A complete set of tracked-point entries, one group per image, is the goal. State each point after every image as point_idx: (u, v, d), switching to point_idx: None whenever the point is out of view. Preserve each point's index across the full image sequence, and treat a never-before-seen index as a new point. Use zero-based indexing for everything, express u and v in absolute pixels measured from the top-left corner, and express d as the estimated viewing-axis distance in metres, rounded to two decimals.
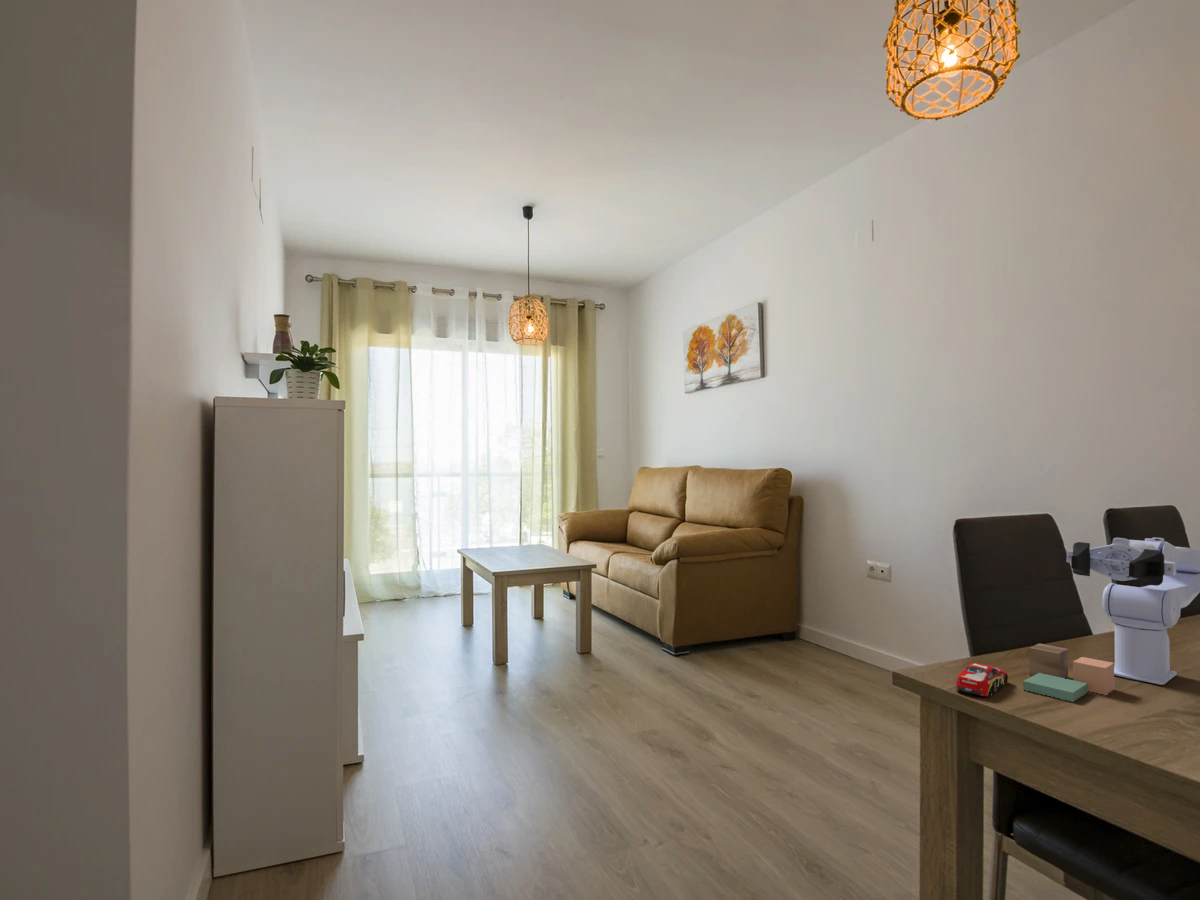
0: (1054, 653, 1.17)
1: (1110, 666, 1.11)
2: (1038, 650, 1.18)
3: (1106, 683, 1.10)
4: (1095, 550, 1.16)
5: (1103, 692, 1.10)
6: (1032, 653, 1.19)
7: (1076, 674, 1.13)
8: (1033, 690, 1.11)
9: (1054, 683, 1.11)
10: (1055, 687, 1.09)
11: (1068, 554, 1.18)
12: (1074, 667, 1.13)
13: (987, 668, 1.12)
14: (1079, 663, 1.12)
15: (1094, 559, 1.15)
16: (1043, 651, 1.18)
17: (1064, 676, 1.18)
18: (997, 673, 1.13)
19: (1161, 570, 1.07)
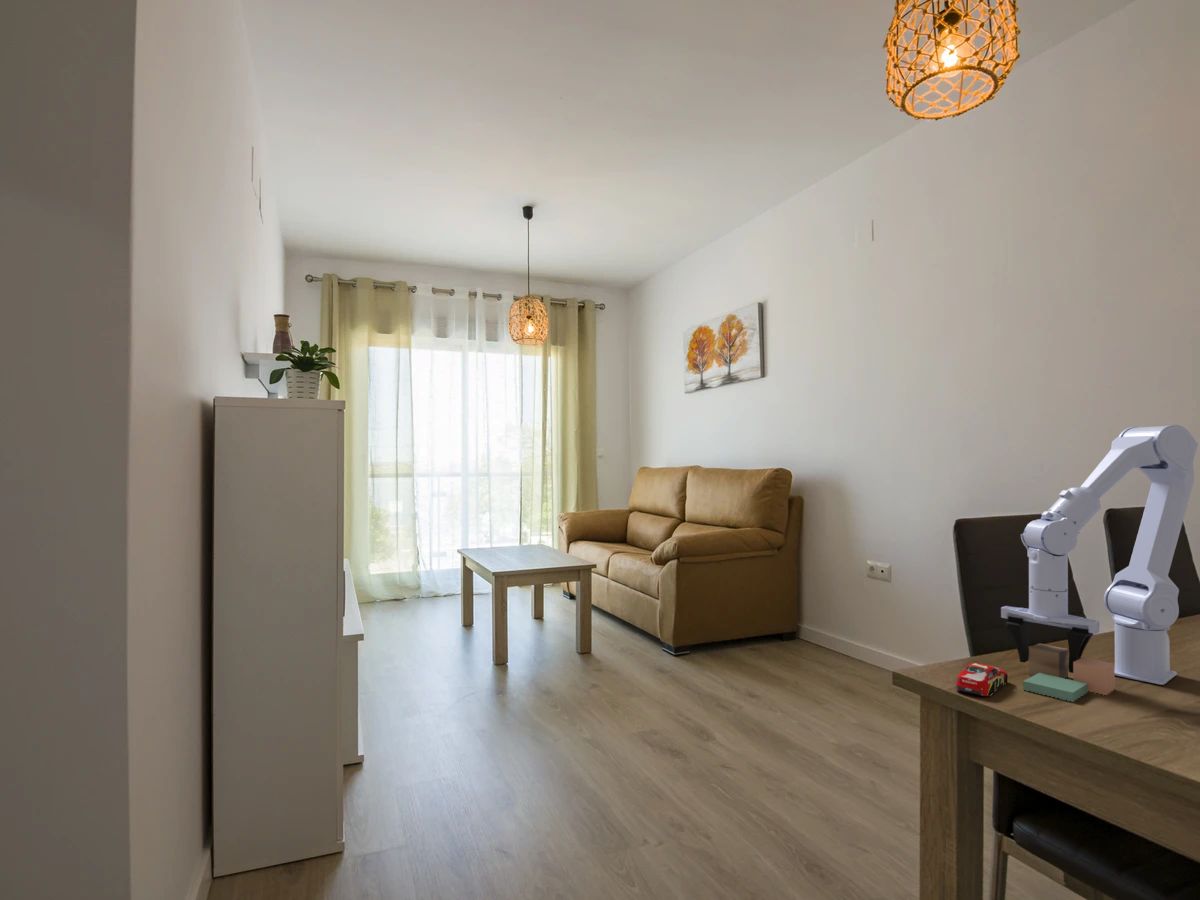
0: (1054, 653, 1.17)
1: (1110, 667, 1.11)
2: (1038, 650, 1.18)
3: (1106, 684, 1.10)
4: None
5: (1103, 693, 1.10)
6: (1032, 653, 1.19)
7: (1076, 674, 1.13)
8: (1033, 690, 1.11)
9: (1054, 683, 1.11)
10: (1055, 687, 1.09)
11: None
12: (1074, 667, 1.13)
13: (987, 668, 1.12)
14: (1079, 663, 1.12)
15: (1027, 621, 1.22)
16: (1043, 651, 1.18)
17: (1064, 676, 1.18)
18: (997, 672, 1.13)
19: (1088, 635, 1.15)
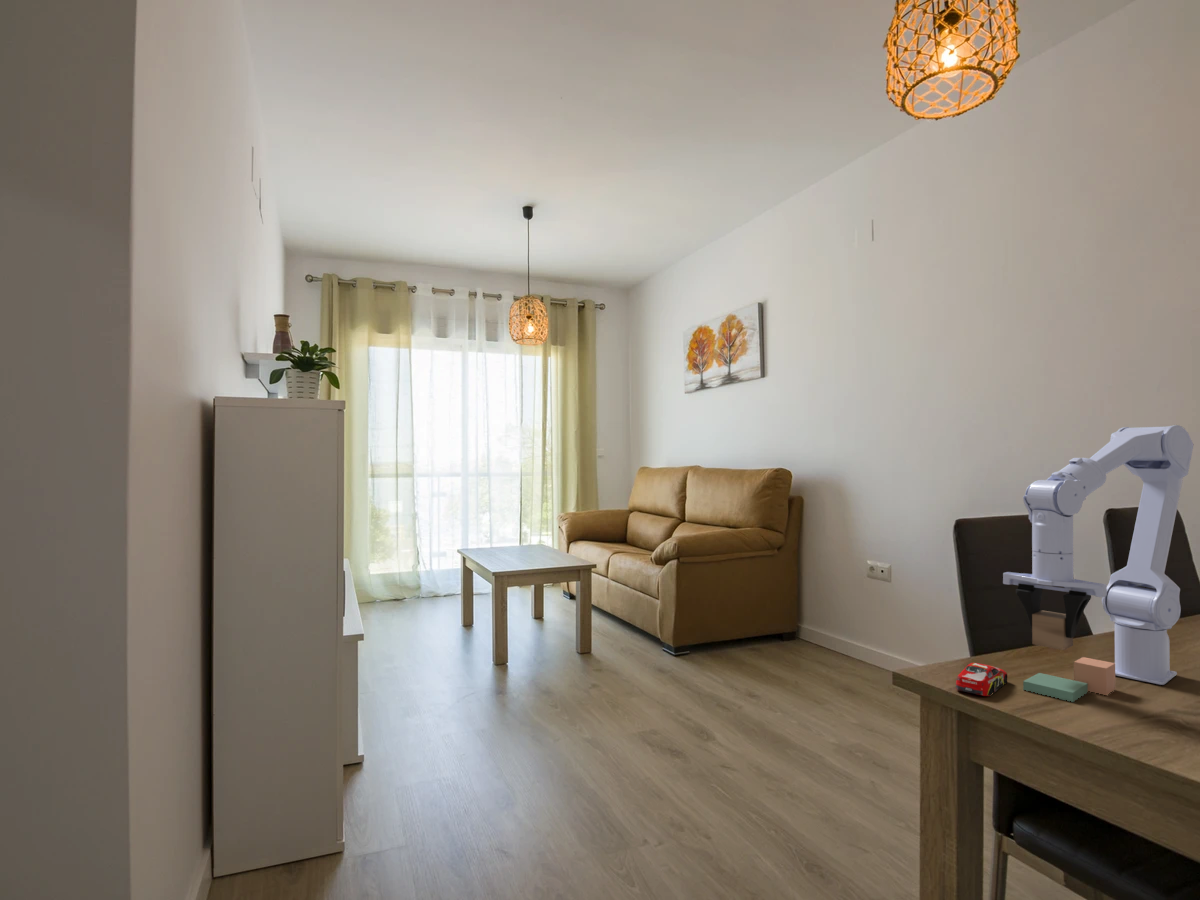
0: (1058, 619, 1.11)
1: (1111, 666, 1.11)
2: (1041, 616, 1.13)
3: (1107, 683, 1.10)
4: (1026, 581, 1.15)
5: (1103, 692, 1.10)
6: (1035, 620, 1.13)
7: (1077, 674, 1.13)
8: (1033, 690, 1.11)
9: (1054, 683, 1.11)
10: (1055, 687, 1.09)
11: (1006, 583, 1.19)
12: (1075, 667, 1.13)
13: (987, 668, 1.12)
14: (1080, 663, 1.12)
15: None
16: (1047, 617, 1.12)
17: (1069, 643, 1.12)
18: (997, 672, 1.13)
19: (1086, 599, 1.10)
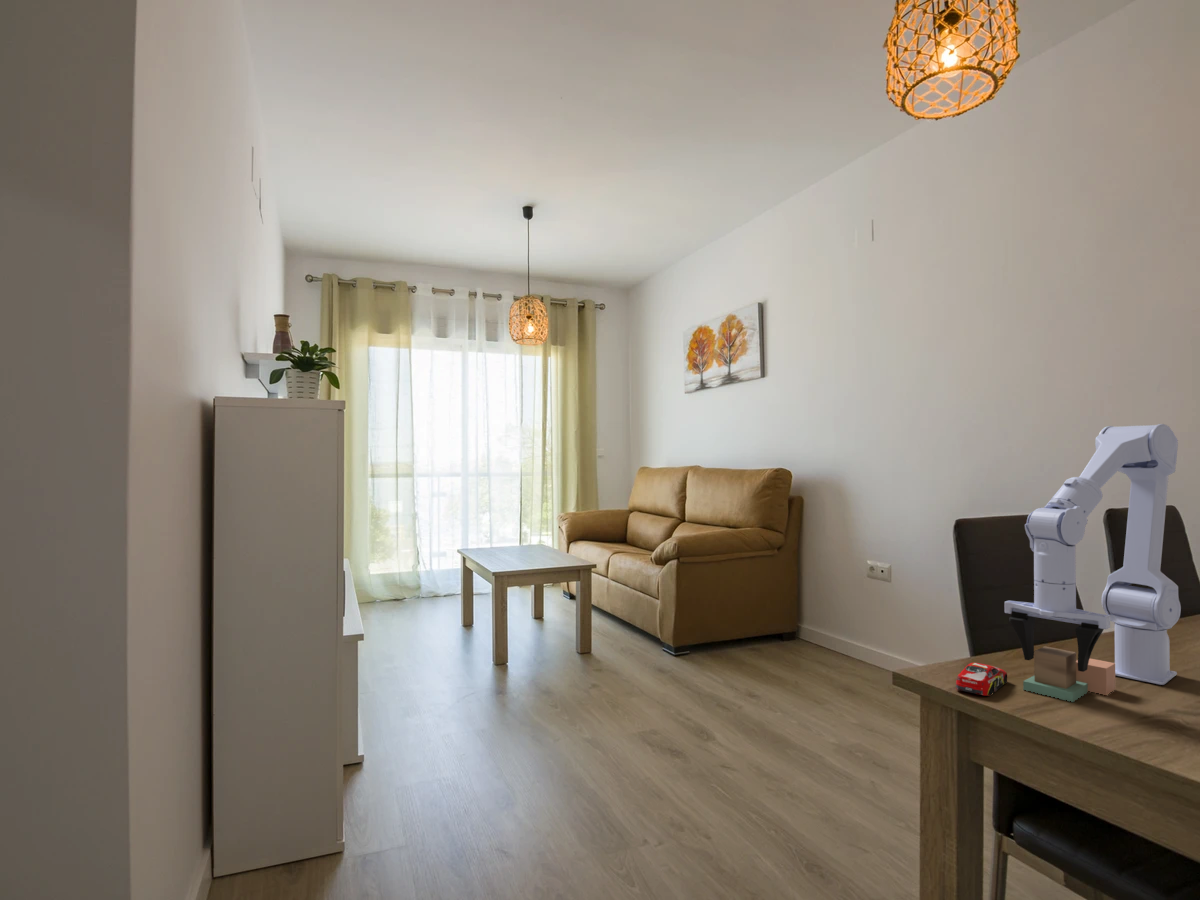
0: (1061, 657, 1.09)
1: (1111, 666, 1.11)
2: (1044, 653, 1.11)
3: (1107, 683, 1.10)
4: None
5: (1103, 692, 1.10)
6: (1037, 657, 1.11)
7: (1077, 674, 1.13)
8: (1033, 690, 1.11)
9: None
10: (1055, 687, 1.09)
11: (1007, 612, 1.17)
12: None
13: (987, 668, 1.12)
14: None
15: (1033, 616, 1.14)
16: (1049, 655, 1.10)
17: (1072, 681, 1.10)
18: (997, 672, 1.13)
19: (1099, 631, 1.07)
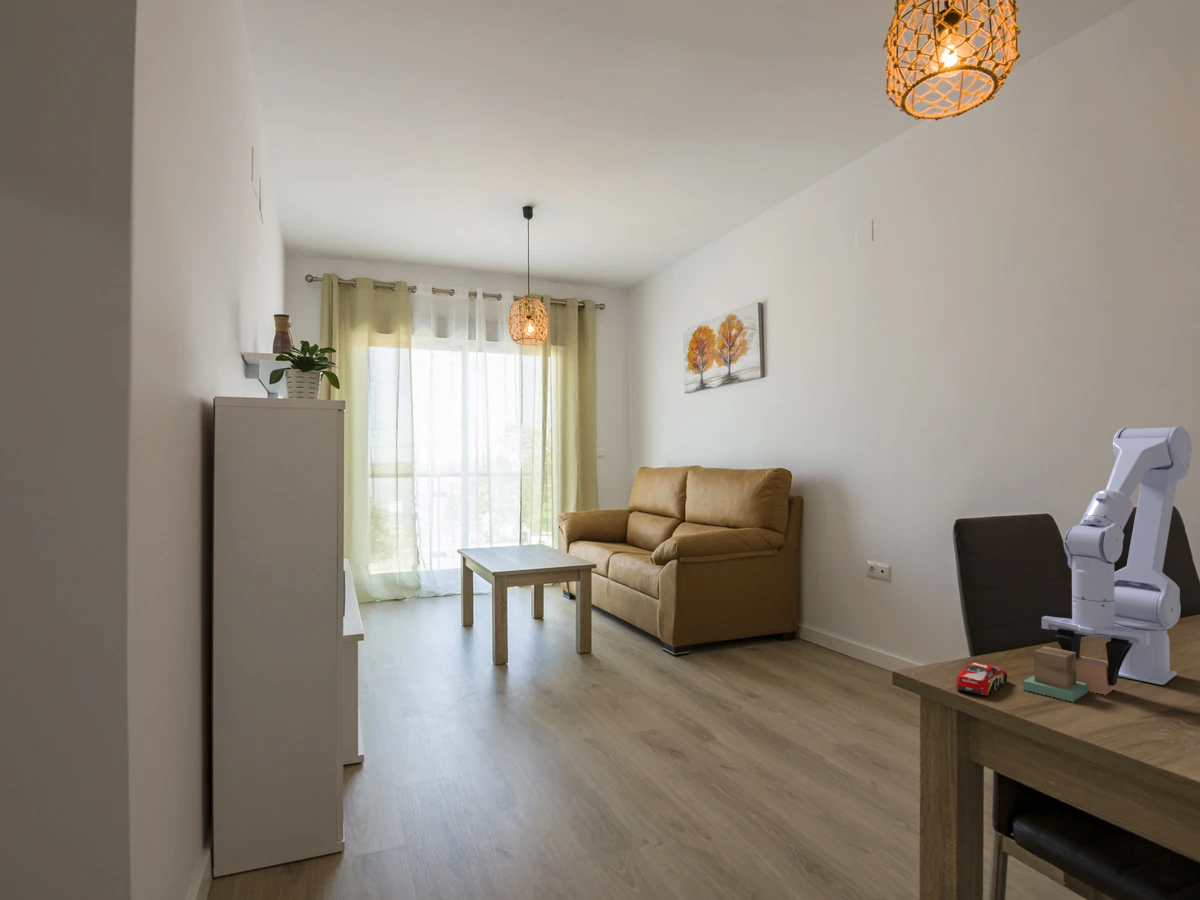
0: (1061, 657, 1.09)
1: None
2: (1044, 653, 1.11)
3: (1106, 682, 1.10)
4: None
5: (1102, 691, 1.10)
6: (1037, 657, 1.11)
7: (1076, 673, 1.13)
8: (1033, 690, 1.11)
9: None
10: (1055, 687, 1.09)
11: None
12: None
13: (987, 667, 1.12)
14: (1079, 662, 1.12)
15: None
16: (1049, 655, 1.10)
17: (1072, 681, 1.10)
18: (996, 672, 1.13)
19: (1128, 646, 1.09)
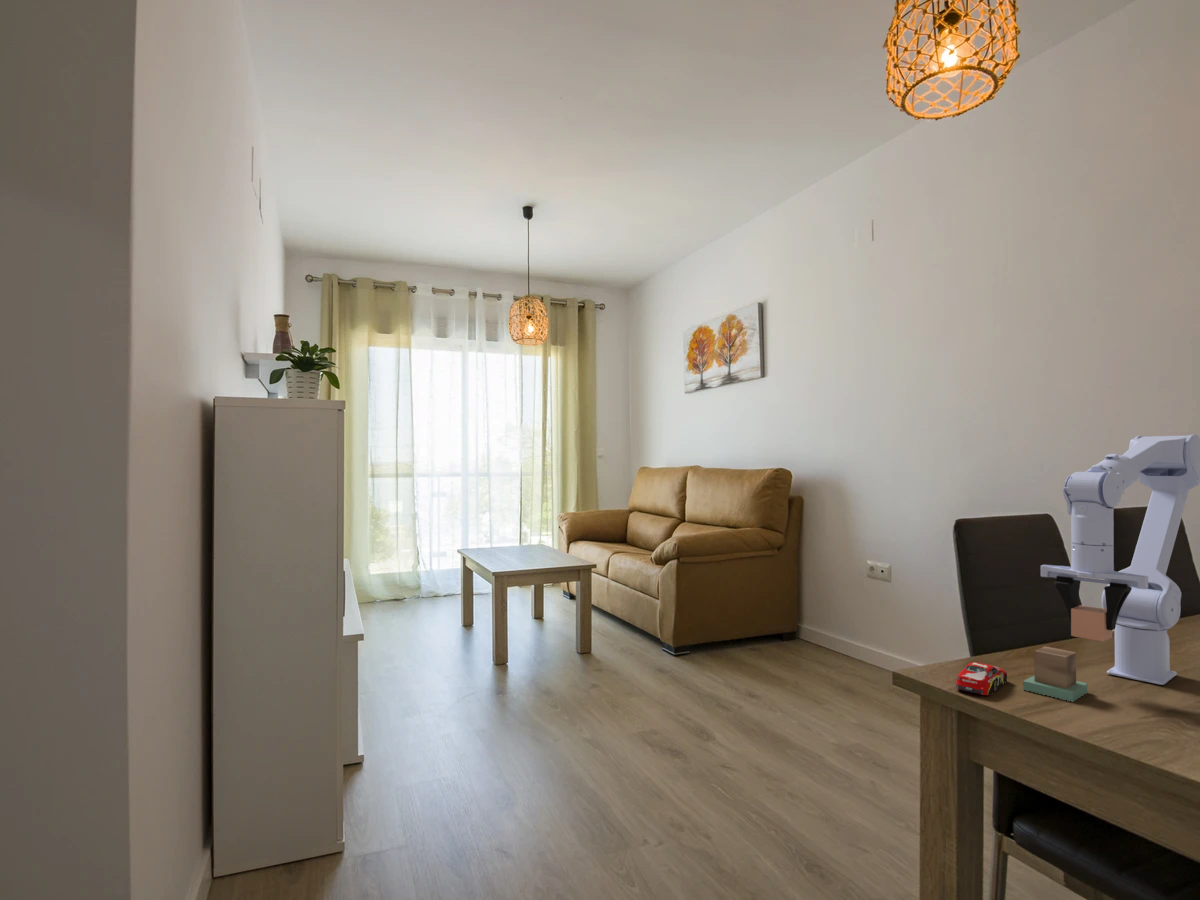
0: (1061, 657, 1.09)
1: None
2: (1044, 653, 1.11)
3: (1104, 629, 1.10)
4: None
5: (1101, 638, 1.10)
6: (1037, 657, 1.11)
7: (1074, 621, 1.13)
8: (1033, 690, 1.11)
9: None
10: (1055, 687, 1.09)
11: None
12: (1072, 614, 1.13)
13: (987, 667, 1.12)
14: (1077, 610, 1.12)
15: None
16: (1049, 655, 1.10)
17: (1072, 681, 1.10)
18: (996, 671, 1.13)
19: (1127, 591, 1.09)
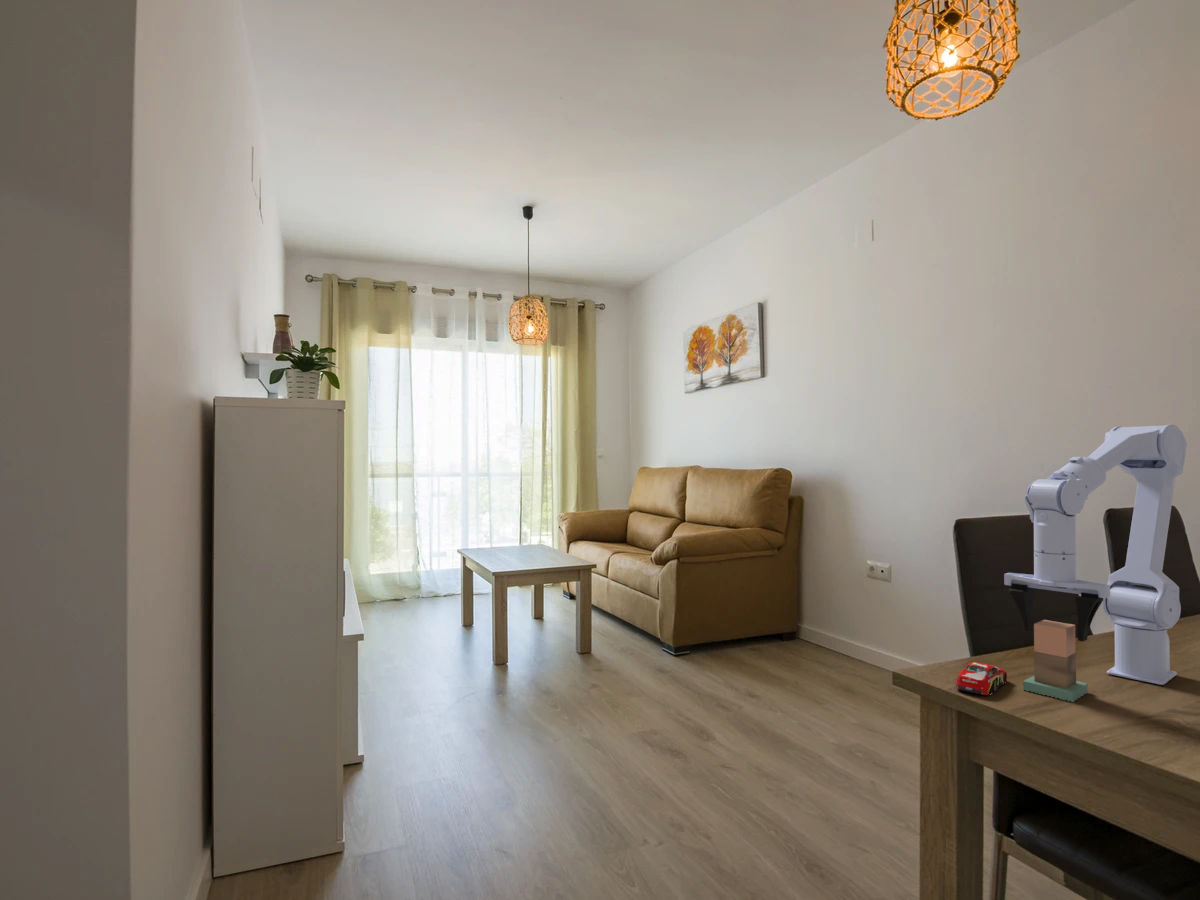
0: (1061, 657, 1.09)
1: (1071, 628, 1.10)
2: (1044, 653, 1.11)
3: (1066, 644, 1.08)
4: (1028, 582, 1.13)
5: (1063, 653, 1.08)
6: (1037, 657, 1.11)
7: (1037, 636, 1.11)
8: (1033, 690, 1.11)
9: None
10: (1055, 687, 1.09)
11: (1007, 584, 1.17)
12: (1035, 629, 1.11)
13: (987, 667, 1.12)
14: (1040, 625, 1.11)
15: (1032, 587, 1.14)
16: (1049, 655, 1.10)
17: (1072, 681, 1.10)
18: (996, 671, 1.13)
19: (1099, 601, 1.07)
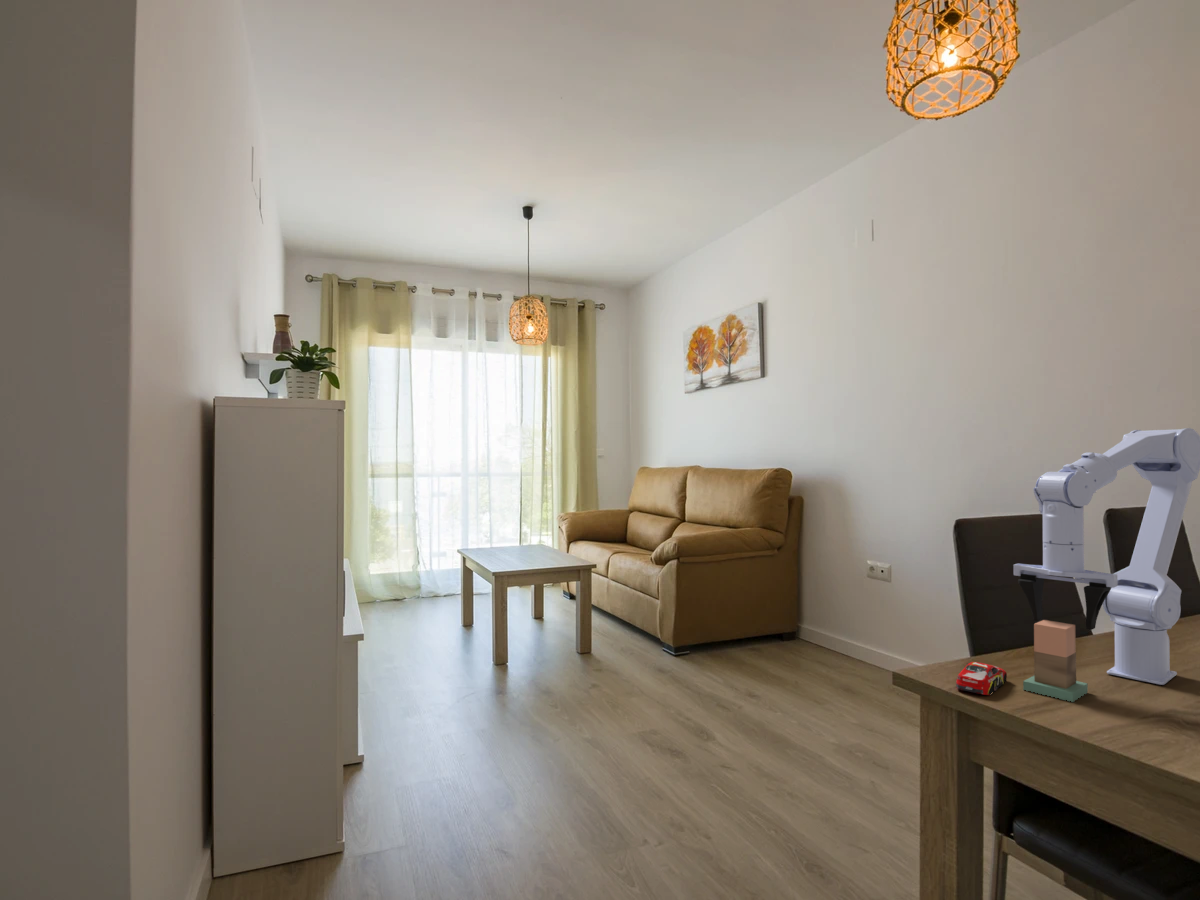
0: (1061, 657, 1.09)
1: (1071, 628, 1.10)
2: (1044, 653, 1.11)
3: (1066, 644, 1.08)
4: (1037, 572, 1.16)
5: (1063, 653, 1.08)
6: (1037, 657, 1.11)
7: (1037, 636, 1.11)
8: (1033, 690, 1.11)
9: None
10: (1055, 687, 1.09)
11: None
12: (1035, 629, 1.11)
13: (987, 667, 1.12)
14: (1040, 625, 1.11)
15: (1041, 577, 1.16)
16: (1049, 655, 1.10)
17: (1072, 681, 1.10)
18: (996, 671, 1.13)
19: (1106, 590, 1.10)
